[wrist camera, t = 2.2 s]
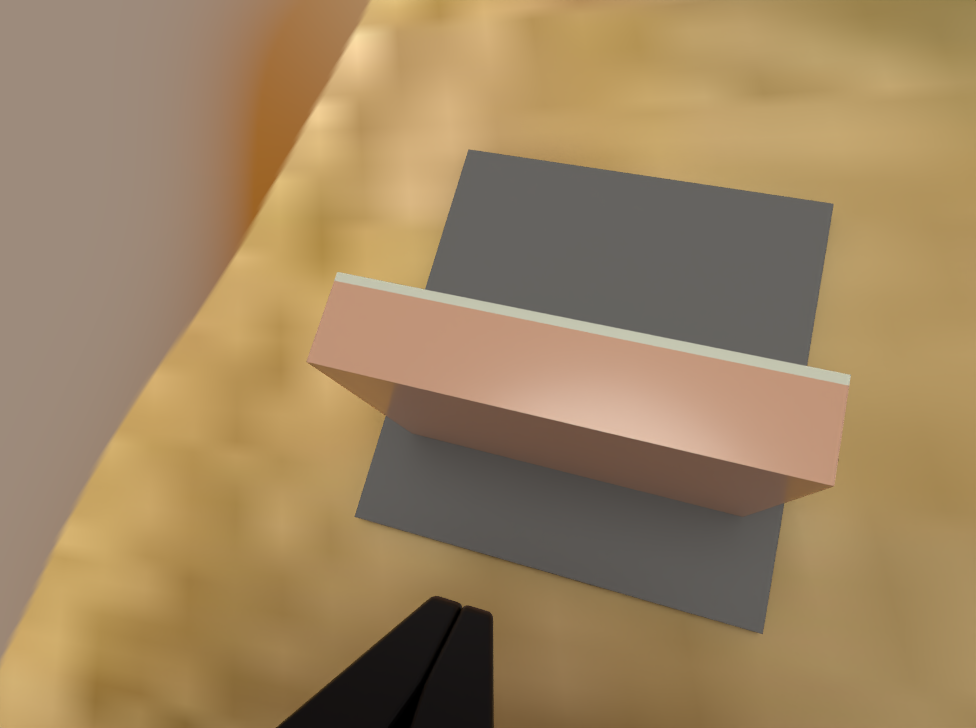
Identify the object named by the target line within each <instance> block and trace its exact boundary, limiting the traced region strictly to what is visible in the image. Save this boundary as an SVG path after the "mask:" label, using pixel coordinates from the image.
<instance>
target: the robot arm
mask: <svg viewBox="0 0 976 728" xmlns="http://www.w3.org/2000/svg"><path fill="white" fill-rule="evenodd" d="M276 728H494V695H493V616H492V614H491V613H490V612H488V611H485V610H482V609H478V608H475V607H472V606H464V607H463V608H462V605H461V604H460V603H458V602H455V601H452V600H449V599H446V598H442V597H439V596H434V597H431V598H430V599H428V600H427V601H426V602H425V603H423V604H422V605H421V606H420V607H419V608H418V609H416V610H415V611H414V612H413V613H412V614H410V615H409V616H408V617H407V618H406V619H404V620H403V621H402V622H401V623H400V624H399V625H397V626H396V627H395V628H394V629H393V630H391V631H390V632H389V633H388V634H387V635H385V636H384V637H383V638H382V639H381V640H380V641H378V642H377V643H376V644H375V645H374V646H372V647H371V648H370V649H369V650H368V651H366V652H365V653H364V654H363V655H362V656H361V657H359V658H358V659H357V660H356V661H355V662H353V663H352V664H351V665H350V666H349V667H347V668H346V669H345V670H344V671H343V672H342V673H340V674H339V675H338V676H337V677H336V678H334V679H333V680H332V681H331V682H330V683H328V684H327V685H326V686H325V687H324V688H323V689H321V690H320V691H319V692H318V693H317V694H315V695H314V696H313V697H312V698H311V699H309V700H308V701H307V702H306V703H305V704H304V705H302V706H301V707H300V708H299V709H298V710H296V711H295V712H294V713H293V714H292V715H290V716H289V717H288V718H287V719H286V720H285V721H283V722H282V723H281V724H280V725H279V726H277V727H276Z"/></svg>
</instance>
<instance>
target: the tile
mask: <svg viewBox="0 0 976 728" xmlns="http://www.w3.org/2000/svg"><path fill="white" fill-rule="evenodd" d="M307 362H308V363H309V364H310V365H312V366H313V367H315V368H316V369H318V370H319V371H321V372H322V373H324V374H325V375H327V376H328V377H330V378H331V379H333V380H334V381H335V382H337V383H338V384H340V385H341V386H343V387H344V388H346V389H347V390H349V391H350V392H352V393H353V394H355V395H356V396H358V397H359V398H361V399H362V400H363V401H365V402H366V403H368V404H369V405H371V406H372V407H374V408H375V409H377V410H378V411H380V412H381V413H383V414H384V415H386V416H387V417H389V418H390V419H391V420H393V421H394V422H396V423H397V424H399V425H400V426H402V427H403V428H405V429H406V430H408V431H409V432H411V433H412V434H416V435H420V436H424V437H428V438H432V439H436V440H440V441H444V442H448V443H452V444H456V445H460V446H464V447H468V448H472V449H475V450H479V451H483V452H487V453H491V454H495V455H499V456H503V457H507V458H511V459H515V460H519V461H523V462H527V463H531V464H535V465H539V466H543V467H547V468H551V469H555V470H559V471H563V472H567V473H571V474H575V475H579V476H582V477H586V478H590V479H594V480H598V481H602V482H606V483H610V484H614V485H618V486H622V487H626V488H630V489H634V490H638V491H642V492H646V493H650V494H654V495H658V496H662V497H666V498H670V499H674V500H678V501H682V502H685V503H689V504H693V505H697V506H701V507H705V508H709V509H713V510H717V511H721V512H725V513H729V514H733V515H737V516H741V517H744V516H747V515H750V514H753V513H756V512H759V511H762V510H765V509H768V508H771V507H774V506H777V505H780V504H783V503H786V502H789V501H792V500H795V499H798V498H801V497H804V496H807V495H810V494H813V493H816V492H819V491H822V490H824V489H827V488H830V487H833V486H834V484H835V477H836V470H837V464H838V457H839V450H840V444H841V437H842V430H843V423H844V417H845V410H846V403H847V396H848V390H849V383H850V376H851V375H849V374H844V373H839V372H834V371H829V370H824V369H819V368H814V367H809V366H804V365H799V364H794V363H789V362H784V361H779V360H774V359H769V358H764V357H759V356H754V355H749V354H744V353H739V352H734V351H729V350H724V349H719V348H714V347H709V346H704V345H699V344H694V343H689V342H684V341H679V340H674V339H669V338H664V337H659V336H654V335H649V334H644V333H639V332H634V331H629V330H624V329H619V328H614V327H609V326H604V325H599V324H594V323H589V322H584V321H579V320H574V319H569V318H564V317H559V316H554V315H549V314H544V313H539V312H535V311H530V310H525V309H520V308H515V307H510V306H505V305H500V304H495V303H490V302H485V301H480V300H475V299H470V298H465V297H460V296H455V295H450V294H445V293H440V292H435V291H430V290H425V289H420V288H415V287H410V286H405V285H400V284H395V283H390V282H385V281H380V280H375V279H370V278H365V277H360V276H355V275H350V274H345V273H340V272H337V275H336V278H335V281H334V283H333V286H332V289H331V292H330V295H329V298H328V301H327V304H326V307H325V310H324V312H323V315H322V318H321V321H320V324H319V327H318V330H317V333H316V336H315V339H314V341H313V344H312V347H311V350H310V353H309V356H308V359H307Z"/></svg>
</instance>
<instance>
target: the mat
mask: <svg viewBox="0 0 976 728" xmlns="http://www.w3.org/2000/svg"><path fill="white" fill-rule="evenodd" d="M832 210H833V204H831V203H824V202H817V201H811V200H804V199H797V198H791V197H784V196H777V195H770V194H764V193H757V192H750V191H744V190H737V189H730V188H723V187H717V186H710V185H703V184H697V183H690V182H683V181H677V180H670V179H663V178H656V177H650V176H643V175H636V174H630V173H623V172H616V171H609V170H603V169H596V168H589V167H583V166H576V165H569V164H562V163H556V162H549V161H542V160H536V159H529V158H522V157H516V156H509V155H502V154H495V153H489V152H482V151H475V150H468V153H467V156H466V160H465V163H464V166H463V169H462V172H461V176H460V179H459V182H458V185H457V189H456V192H455V195H454V198H453V201H452V205H451V208H450V211H449V214H448V218H447V221H446V224H445V227H444V230H443V234H442V237H441V240H440V243H439V247H438V250H437V253H436V256H435V259H434V263H433V266H432V269H431V272H430V276H429V279H428V282H427V285H426V288H425V290H430V291H435V292H440V293H445V294H450V295H455V296H460V297H465V298H470V299H475V300H480V301H485V302H490V303H495V304H500V305H505V306H510V307H515V308H520V309H525V310H530V311H535V312H539V313H544V314H549V315H554V316H559V317H564V318H569V319H574V320H579V321H584V322H589V323H594V324H599V325H604V326H609V327H614V328H619V329H624V330H629V331H634V332H639V333H644V334H649V335H654V336H659V337H664V338H669V339H674V340H679V341H684V342H689V343H694V344H699V345H704V346H709V347H714V348H719V349H724V350H729V351H734V352H739V353H744V354H749V355H754V356H759V357H764V358H769V359H774V360H779V361H784V362H789V363H794V364H799V365H804V366H807V362H808V356H809V350H810V344H811V338H812V332H813V326H814V319H815V313H816V307H817V301H818V295H819V289H820V283H821V277H822V271H823V265H824V259H825V253H826V247H827V241H828V235H829V228H830V222H831V216H832ZM783 508H784V503H783V504H780V505H777V506H774V507H771V508H768V509H765V510H762V511H759V512H756V513H753V514H750V515H747V516H744V517H741V516H737V515H733V514H729V513H725V512H721V511H717V510H713V509H709V508H705V507H701V506H697V505H693V504H689V503H685V502H682V501H678V500H674V499H670V498H666V497H662V496H658V495H654V494H650V493H646V492H642V491H638V490H634V489H630V488H626V487H622V486H618V485H614V484H610V483H606V482H602V481H598V480H594V479H590V478H586V477H582V476H579V475H575V474H571V473H567V472H563V471H559V470H555V469H551V468H547V467H543V466H539V465H535V464H531V463H527V462H523V461H519V460H515V459H511V458H507V457H503V456H499V455H495V454H491V453H487V452H483V451H479V450H475V449H472V448H468V447H464V446H460V445H456V444H452V443H448V442H444V441H440V440H436V439H432V438H428V437H424V436H420V435H416V434H412V433H411V432H409V431H408V430H406V429H405V428H403V427H402V426H400V425H399V424H397V423H396V422H394V421H393V420H391V419H390V418H389V417H387V416H386V417H385V420H384V424H383V427H382V430H381V433H380V437H379V440H378V443H377V446H376V449H375V453H374V456H373V459H372V462H371V466H370V469H369V472H368V475H367V478H366V482H365V485H364V488H363V491H362V495H361V498H360V501H359V504H358V507H357V511H356V514H355V517H358V518H361V519H365V520H368V521H372V522H375V523H379V524H382V525H385V526H389V527H392V528H396V529H399V530H403V531H406V532H410V533H413V534H417V535H420V536H424V537H427V538H431V539H434V540H438V541H441V542H445V543H448V544H452V545H455V546H458V547H462V548H465V549H469V550H472V551H476V552H479V553H483V554H486V555H490V556H493V557H497V558H500V559H504V560H507V561H511V562H514V563H518V564H521V565H525V566H528V567H532V568H535V569H538V570H542V571H545V572H549V573H552V574H556V575H559V576H563V577H566V578H570V579H573V580H577V581H580V582H584V583H587V584H591V585H594V586H598V587H601V588H605V589H608V590H611V591H615V592H618V593H622V594H625V595H629V596H632V597H636V598H639V599H643V600H646V601H650V602H653V603H657V604H660V605H664V606H667V607H671V608H674V609H678V610H681V611H684V612H688V613H691V614H695V615H698V616H702V617H705V618H709V619H712V620H716V621H719V622H723V623H726V624H730V625H733V626H737V627H740V628H744V629H747V630H751V631H754V632H758V633H761V634H763V629H764V623H765V617H766V611H767V605H768V599H769V592H770V586H771V580H772V574H773V568H774V562H775V556H776V550H777V544H778V538H779V532H780V526H781V520H782V514H783Z"/></svg>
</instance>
